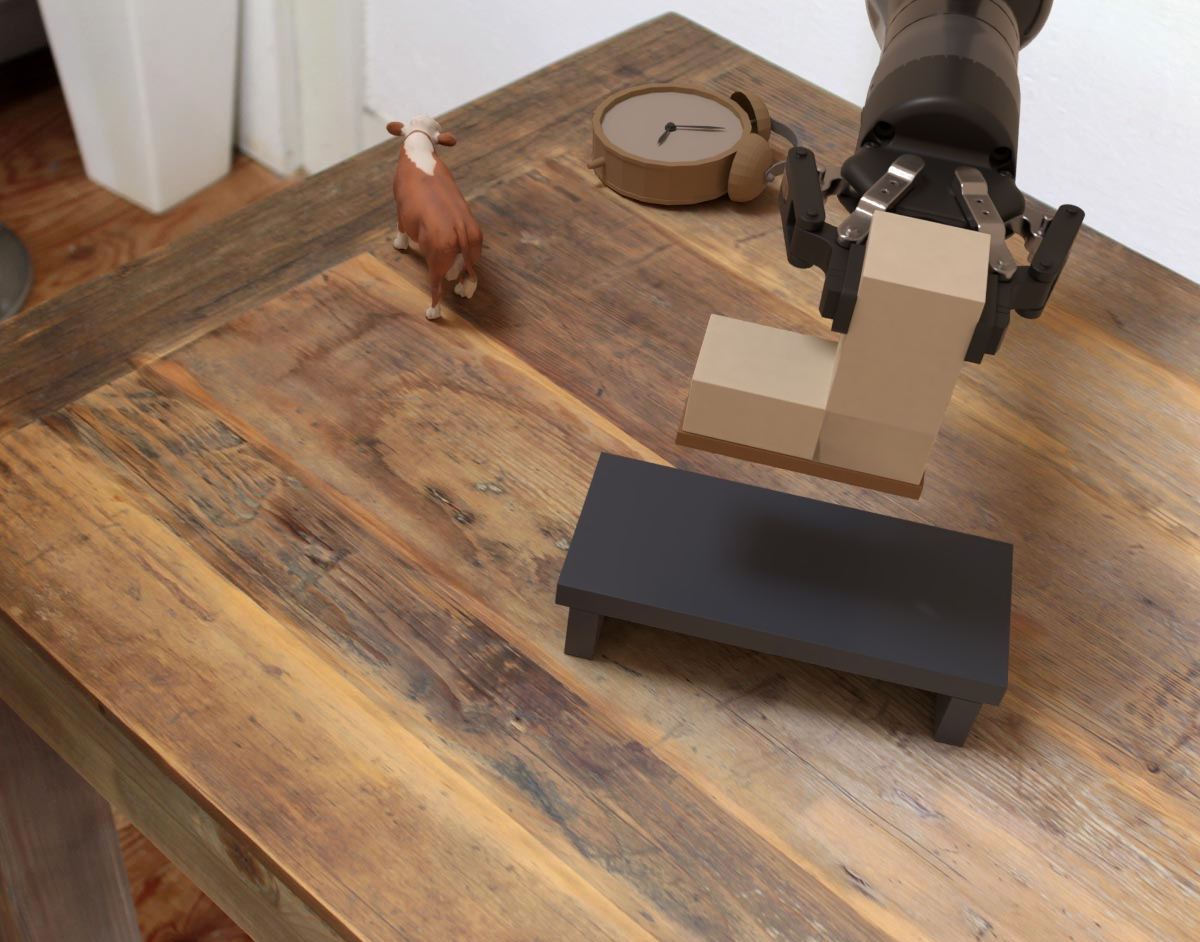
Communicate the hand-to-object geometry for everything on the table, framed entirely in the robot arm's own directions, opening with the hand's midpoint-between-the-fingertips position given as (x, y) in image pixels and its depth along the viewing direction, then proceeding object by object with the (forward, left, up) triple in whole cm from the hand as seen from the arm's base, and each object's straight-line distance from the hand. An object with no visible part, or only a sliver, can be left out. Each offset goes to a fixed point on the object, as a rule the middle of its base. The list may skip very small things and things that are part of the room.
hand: (911, 330), depth 61 cm
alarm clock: (+14, -44, -21) cm, 51 cm away
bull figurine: (+28, -26, -21) cm, 44 cm away
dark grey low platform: (+2, -2, -21) cm, 21 cm away
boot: (+3, -3, -9) cm, 10 cm away
